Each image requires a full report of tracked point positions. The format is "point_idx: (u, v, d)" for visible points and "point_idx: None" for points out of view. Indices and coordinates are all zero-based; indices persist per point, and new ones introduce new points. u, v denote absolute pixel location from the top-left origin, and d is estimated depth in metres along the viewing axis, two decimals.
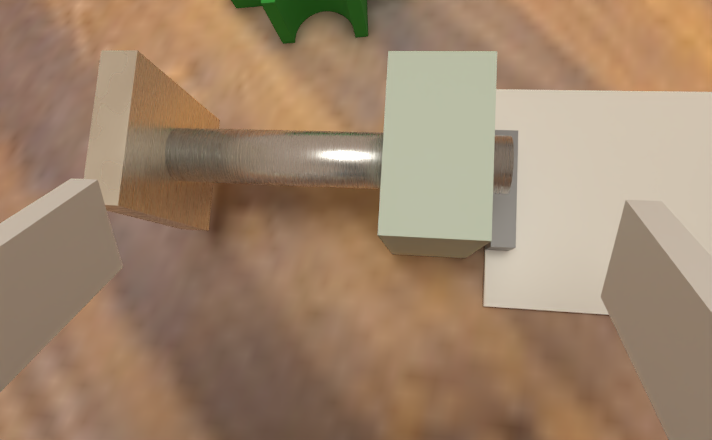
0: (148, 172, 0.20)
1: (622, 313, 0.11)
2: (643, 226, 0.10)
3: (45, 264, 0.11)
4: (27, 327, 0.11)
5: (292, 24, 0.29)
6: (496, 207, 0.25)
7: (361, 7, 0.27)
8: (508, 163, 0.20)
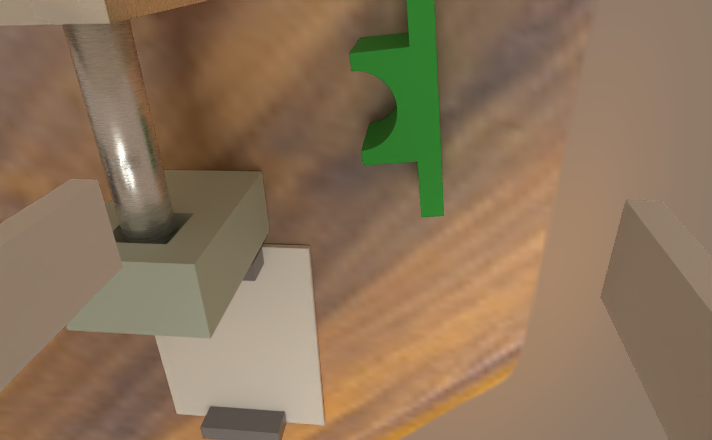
0: None
1: (622, 313, 0.11)
2: (643, 226, 0.10)
3: (45, 264, 0.11)
4: (27, 327, 0.11)
5: None
6: None
7: None
8: None
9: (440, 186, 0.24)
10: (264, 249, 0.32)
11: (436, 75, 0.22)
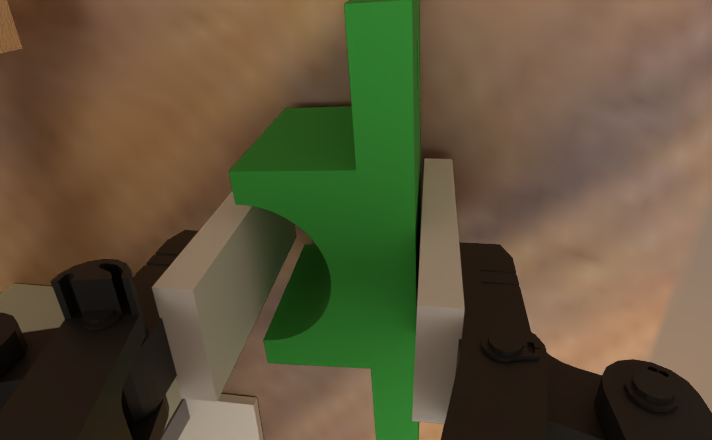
0: None
1: None
2: None
3: (267, 227, 0.13)
4: (259, 281, 0.12)
5: None
6: None
7: None
8: None
9: None
10: (188, 400, 0.21)
11: (412, 228, 0.10)
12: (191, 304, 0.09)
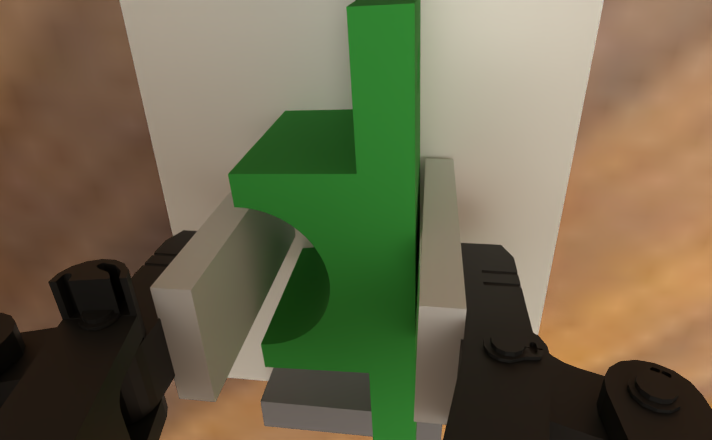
0: None
1: None
2: None
3: (266, 227, 0.13)
4: (258, 282, 0.12)
5: None
6: None
7: None
8: None
9: (411, 414, 0.13)
10: None
11: (412, 233, 0.10)
12: (189, 304, 0.09)
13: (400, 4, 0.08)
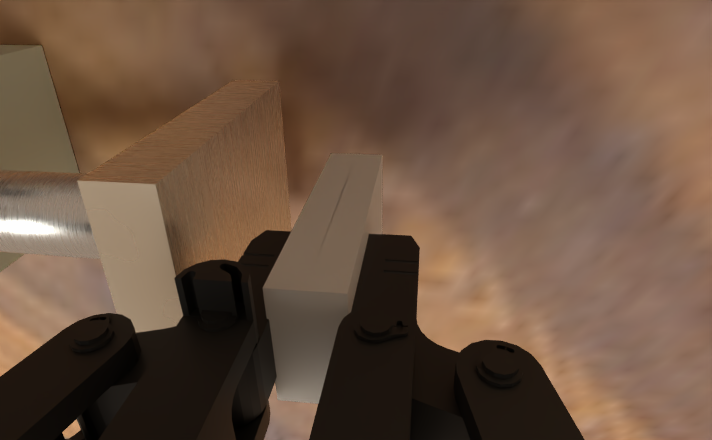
0: None
1: None
2: (350, 171, 0.13)
3: None
4: None
5: None
6: None
7: None
8: None
9: None
10: None
11: None
12: (301, 305, 0.09)
13: None
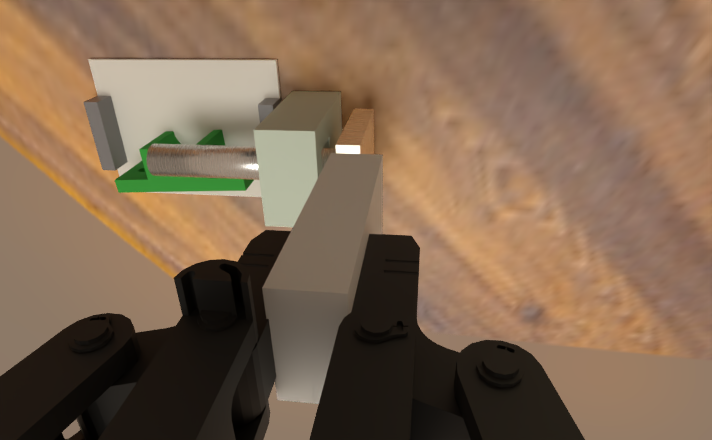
0: None
1: None
2: (350, 171, 0.13)
3: None
4: None
5: None
6: None
7: (147, 144, 0.41)
8: (149, 162, 0.36)
9: (136, 191, 0.41)
10: None
11: (195, 190, 0.41)
12: (301, 305, 0.09)
13: (245, 187, 0.40)
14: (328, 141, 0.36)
